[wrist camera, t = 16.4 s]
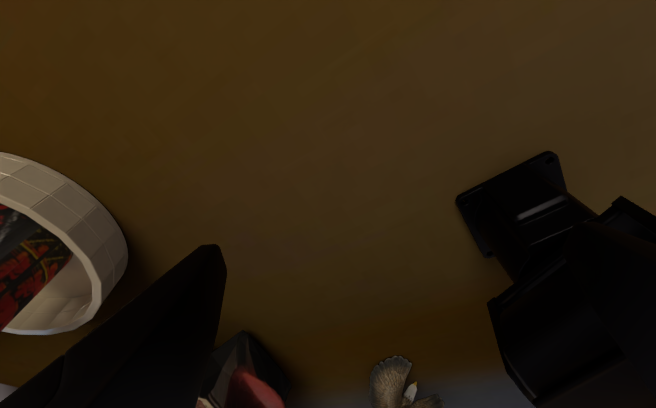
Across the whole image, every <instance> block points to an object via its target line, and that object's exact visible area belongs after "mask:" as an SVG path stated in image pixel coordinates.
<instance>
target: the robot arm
mask: <svg viewBox="0 0 656 408" xmlns="http://www.w3.org/2000/svg"><path fill="white" fill-rule="evenodd" d="M549 157H550V158H549ZM548 158H549V160H548V161H546V159H548ZM545 161H546V162H545ZM465 199H466V201H465V202H462V201H463V200H465ZM455 201H456V204H457V206H458V208H459V210H460V212H461V214H462V216H463V218H464V220H465V222H466V224H467V226H468V227H469V229H470V231H471V233H472V235H473V237H474V239H475V241H476V243H477V245H478V247H479V249H480V251H481V253H482V254H483V256H484V257H485V258H492V257H496V258H497V260H498V261H499V262H500V264H501V265H502V267H503V268H504V270H505V271H506V272H507V274H508V275H509V277H510V278H511V280H512V281H513V282H514V284H513V285H511V286H510V287H509V288H508V289H506V290H505V291H504V292H503V293H501V294H500V295H499V296H498V297H496V298H495V297H494V298H492V299H491V300H490V301H489V302H487V306H488V310H489V314H490V317H491V321H492V325H493V328H494V332H495V336H496V339H497V343H498V347H499V350H500V354H501V357H502V360H503V363H504V366H505V369H506V372H507V374H508V375H509V376H510V378H511V379H512V380H513V381H514V382H515V384H516V385H517V386H518V388H519V389H520V390H521V392H522V393H523V394H524V395H525V396H526V397H527V399H528V400H529V401H530V402H531V403H532V404H533V405H534V406H535V407H536V408H656V216H654V215H653V214H651V213H649V212H648V211H646V210H644V209H643V208H641V207H639V206H638V205H636V204H634V203H633V202H631V201H629V200H628V199H626V198H624V197H623V196H620V197H619V198H617V199H616V200H615V201H614V202H612V203H611V204H612V206H611V207H610V208H608V209H607V210H606V211H605V212H603V213H602V214H601V215H597V214H596V213H595V212H593V211H592V210H591V209H589V208H588V207H587V206H585V205H584V204H583V203H581V202H580V201H579V200H577V199H576V198H575V197H574V196H572V195H571V194H570V193H568V192H567V189H566V185H565V181H564V177H563V174H562V170H561V166H560V162H559V159H558V156H557V155H556V154H555V153H553V152H551V151H546V152H543V153H541V154H539V155H537V156H535V157H533V158H531V159H529V160H527V161H525V162H523V163H521V164H519V165H517V166H515V167H513V168H511V169H509V170H507V171H505V172H503V173H501V174H499V175H497V176H495V177H493V178H491V179H489V180H487V181H485V182H483V183H481V184H479V185H477V186H475V187H473V188H471V189H469V190H467V191H466V192H464V193H462V194H460V195H458V196H457V198H456V200H455ZM489 251H490V252H489ZM226 278H227V269H226V265H225V262H224V259H223V256H222V253H221V249H220V247H219V246H218V245H216V244H210V245H201V246H200V247H198V248H197V249H196V250H194V251H193V252H192V253H191V254H189V255H188V256H187V257H185V258H184V259H183V260H182V261H180V262H179V263H178V264H177V265H175V266H174V267H173V268H172V269H170V270H169V271H168V272H166V273H165V274H164V275H163V276H161V277H160V278H159V279H158V280H156V281H155V282H154V283H152V284H151V285H150V286H149V287H147V288H146V289H145V290H144V291H142V292H141V293H140V294H138V295H137V296H136V297H135V298H133V299H132V300H131V301H130V302H128V303H127V304H126V305H125V306H123V307H122V308H121V309H119V310H118V311H117V312H116V313H114V314H113V315H112V316H111V317H109V318H108V319H107V320H105V321H104V322H103V323H102V324H100V325H99V326H98V327H97V328H95V329H94V330H93V331H91V332H90V333H89V334H88V335H86V336H85V337H84V338H83V339H81V340H80V341H79V342H78V343H76V344H75V345H74V346H72V347H71V348H70V349H69V350H67V351H66V353H65V355H61V356H60V357H58V358H57V359H56V360H55V361H53V362H52V363H51V364H49V365H48V366H47V367H46V368H44V369H43V370H42V371H41V372H39V373H38V374H37V375H35V376H34V377H33V378H31V379H30V380H29V381H27V382H26V383H25V384H24V385H22V386H21V387H20V388H18V389H17V390H16V391H14V392H13V393H12V394H11V395H9V396H8V397H7V398H5V399H4V400H2V401H1V402H0V408H196V404H197V401H198V397H199V394H200V390H201V387H202V383H203V380H204V377H205V373H206V370H207V366H208V363H209V359H210V356H211V352H212V349H213V345H214V342H215V338H216V334H217V330H218V325H219V319H220V313H221V307H222V302H223V296H224V290H225V284H226Z"/></svg>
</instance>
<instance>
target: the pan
mask: <svg viewBox="0 0 656 408" xmlns="http://www.w3.org/2000/svg"><path fill="white" fill-rule="evenodd" d="M0 203H1V204H3V205H5V206H8V207H10V208H12V209H14V210H17V211H19V212H21V213H23V214H25V215H27V216H28V217H30V218H31V219H33V220H34V221H36V222H37V223H39V224H40V225H41V226H43V227H44V228H46V229H47V230H49V231H50V232H52V233H53V234H55V235H56V236H57V237H59V238H60V239H61V240H62V241H63V242H64V243H65V245H66V246H67V247H68V248H69V249H70V250H71V251H72V252H73V256H72V259H71V260H70V261H69V262H68V263H67V265H66V266H65V267H64V268H63V269H62V270H61V271H60V272H59V273H58V274H57V275H56V276H55V277H54V278H53V279H52V280H51V281H50V282H49V283H48V284H47V285H46V286H45V287H44V288H43V289H42V290H41V291H40V292H39V293H38V294H37V295H36V296H35V297H34V298H33V299H32V300H31V301H30V302H29V303H28V304H27V305H26V306H25V307H24V308H23V309H22V311H21V312H20V313H19V314H18V315H17V316H16V317H15V318H14V319H13V320H12V321H11V322H10V323H9V324H8V325H7V326H6V327H5V328H4V329H3V330H2V331H3V332H8V333H14V334H20V335H51V334H56V333H61V332H66V331H70V330H74V329H76V328H78V327H79V326H81V325H83V324H84V323H86V322H88V321H89V320H91V319H92V318H93V317H94V316H95V314H96V313H97V312H98V310H99V309H100V308H101V306H102V305H103V303H104V302H105V301H106V299H107V298H108V297H109V295H110V294H111V292H112V291H113V290H114V288H115V287H116V285H117V284H118V282H119V281H120V279H121V278H122V276H123V274H124V273H125V270H126V267H127V263H128V248H127V245H126V241H125V238H124V236H123V233H122V231H121V229H120V227H119V226H118V224H117V223H116V221H115V219H114V218H113V217H112V216H111V214H110V213H109V212H108V210H107V209H106V208H105V207H104V206H103V205H102V204H101V203H100V202H99V201H98V200H97V199H96V198H95V197H93V196H92V195H91V194H90V193H89V192H88V191H86V190H85V189H84V188H82V187H81V186H79V185H78V184H77V183H75V182H74V181H72V180H71V179H69V178H67V177H66V176H64V175H62V174H61V173H59V172H57V171H55V170H53V169H51V168H49V167H47V166H44V165H42V164H40V163H37V162H35V161H32V160H29V159H26V158H23V157H20V156H16V155H13V154H8V153H3V152H0Z"/></svg>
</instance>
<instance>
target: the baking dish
mask: <svg viewBox="0 0 656 408" xmlns="http://www.w3.org/2000/svg"><path fill="white" fill-rule="evenodd" d="M290 389H291V384H290V382H289V381H288V379H287V378H286V377H285V375H284V374H283V372H282V371H281V370H280V369H279V367H278V366H277V365H276V364H275V363H274V362H273V360H272V359H271V358H270V357H269V356H268V355H267V354H266V352H265V351H264V350H263V349H262V348H261V347H260V346H259V345H258V344H257V343H256V342H255V341H254V340H253V339H252V338H251V336H250V335H249V334H248V333H246V332H245V331H243V330H242V331H241V332H239V333H238V334H237V335H235V336H234V337H233V338H231V339H230V340H228V341H227V342H226V343H224V344H223V345H222V346H220V347H219V348H217V349H216V350H215V351H213V352H212V353H211V356H210V359H209V363H208V366H207V370H206V373H205V377H204V380H203V383H202V387H201V390H200V394H199V397H198V401H197V404H196V408H286V405H285V402H286V398H287V395H288V392H289V390H290Z"/></svg>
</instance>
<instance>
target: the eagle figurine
mask: <svg viewBox="0 0 656 408" xmlns="http://www.w3.org/2000/svg"><path fill="white" fill-rule="evenodd" d="M411 366H412V364H411V363H410V362H408V360H407V359H403V357H402V356H399V357H397V356H393V357H392V358H391V359H390V358H388V359H386V360H385V362H384V363H383V362H380V364H379V365H376V366H375V367H374V369H373V371H372V372H371V376H370V384H369V385H370V391H369V393H370V394H369V400H370V402H371V404H372V406H373V407H374V408H444V402H443V401H442V398H441V397H439V398H438V394H434V395H431V396H429V397H426V398H422V399H419V400H417V401H415V402H414V403H413V400H414V397H415V394H416V391H417V387H416V385H417V382H416V381H415V382H414V383H413V384H411V385H410V386H409V387H408V389H407V390H406V392H405V393H404V394H403V395H402V392H403V388H404V384H405V380H406V377H407V375H408V373H409V371H410V369H411ZM412 403H413V404H412Z"/></svg>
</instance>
